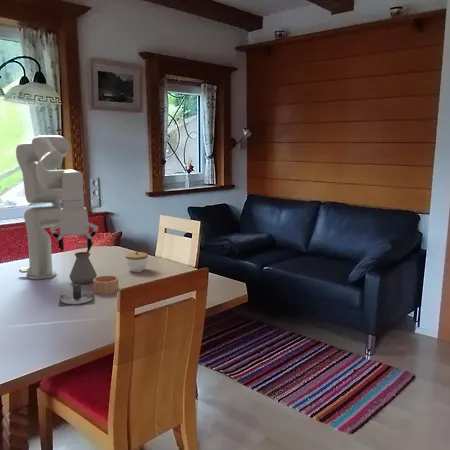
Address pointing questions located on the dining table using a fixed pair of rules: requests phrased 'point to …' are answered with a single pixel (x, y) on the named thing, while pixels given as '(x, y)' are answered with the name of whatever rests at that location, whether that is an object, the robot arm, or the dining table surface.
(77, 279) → the coffee pot
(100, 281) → the bowl
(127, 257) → the lidded jar
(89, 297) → the lid
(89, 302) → the mat
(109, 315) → the dining table surface
